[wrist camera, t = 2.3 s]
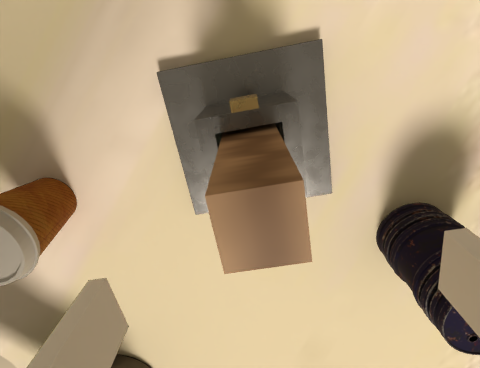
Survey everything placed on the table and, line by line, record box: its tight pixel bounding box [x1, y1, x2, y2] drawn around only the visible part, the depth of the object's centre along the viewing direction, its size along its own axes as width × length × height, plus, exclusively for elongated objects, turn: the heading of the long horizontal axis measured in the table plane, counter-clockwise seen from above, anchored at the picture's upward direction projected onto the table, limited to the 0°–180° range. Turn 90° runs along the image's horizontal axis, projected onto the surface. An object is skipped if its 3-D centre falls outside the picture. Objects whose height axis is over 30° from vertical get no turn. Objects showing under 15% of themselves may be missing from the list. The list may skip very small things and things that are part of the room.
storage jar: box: [376, 203, 480, 355], centre depth 34 cm, size 10×10×15 cm
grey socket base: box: [157, 39, 332, 215], centre depth 31 cm, size 18×18×10 cm
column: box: [205, 123, 312, 274], centre depth 25 cm, size 5×5×20 cm
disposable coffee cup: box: [0, 178, 77, 286], centre depth 34 cm, size 10×10×12 cm
